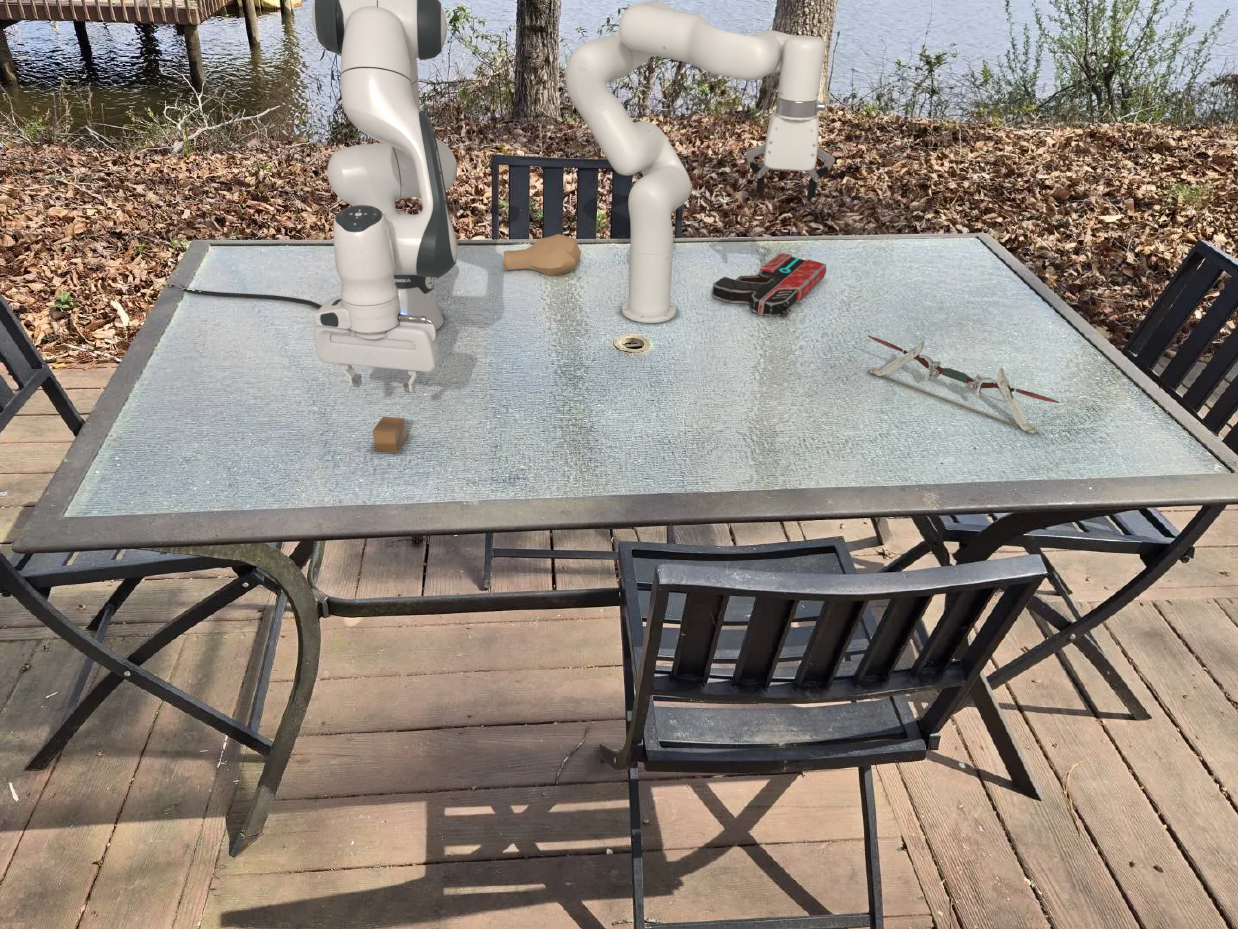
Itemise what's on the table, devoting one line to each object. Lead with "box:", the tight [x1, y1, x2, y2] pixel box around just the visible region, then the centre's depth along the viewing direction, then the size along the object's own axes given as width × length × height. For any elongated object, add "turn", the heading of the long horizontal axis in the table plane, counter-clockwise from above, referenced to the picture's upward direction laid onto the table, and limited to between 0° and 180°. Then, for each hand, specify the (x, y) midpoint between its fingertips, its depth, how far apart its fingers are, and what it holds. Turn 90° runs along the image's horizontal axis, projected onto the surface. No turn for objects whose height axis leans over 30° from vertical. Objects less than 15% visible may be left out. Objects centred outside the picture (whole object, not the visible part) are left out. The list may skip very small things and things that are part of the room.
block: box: [372, 416, 408, 454], centre depth 153 cm, size 5×4×4 cm
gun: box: [711, 252, 827, 318], centre depth 215 cm, size 4×31×19 cm
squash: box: [502, 233, 582, 276], centre depth 221 cm, size 11×20×9 cm, turn 90°
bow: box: [867, 334, 1060, 434], centre depth 169 cm, size 39×2×10 cm, turn 47°
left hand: (383, 388), depth 148 cm, fingers open, 8 cm apart
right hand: (784, 197), depth 176 cm, fingers open, 9 cm apart
